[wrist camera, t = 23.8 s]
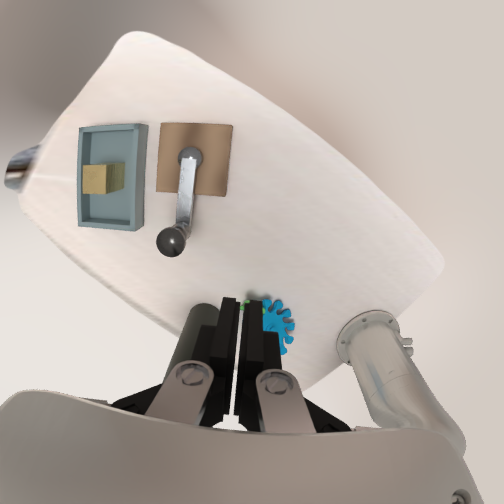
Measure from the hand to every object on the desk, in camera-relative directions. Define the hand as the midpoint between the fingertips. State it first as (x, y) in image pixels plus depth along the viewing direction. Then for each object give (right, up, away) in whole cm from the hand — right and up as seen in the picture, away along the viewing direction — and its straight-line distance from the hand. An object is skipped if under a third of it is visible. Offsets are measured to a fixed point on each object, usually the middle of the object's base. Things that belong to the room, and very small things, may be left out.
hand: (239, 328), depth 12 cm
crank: (-8, +11, +27) cm, 30 cm away
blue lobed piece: (+3, -7, +36) cm, 37 cm away
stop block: (-21, +15, +27) cm, 38 cm away
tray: (-21, +15, +28) cm, 38 cm away
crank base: (-8, +17, +27) cm, 33 cm away
